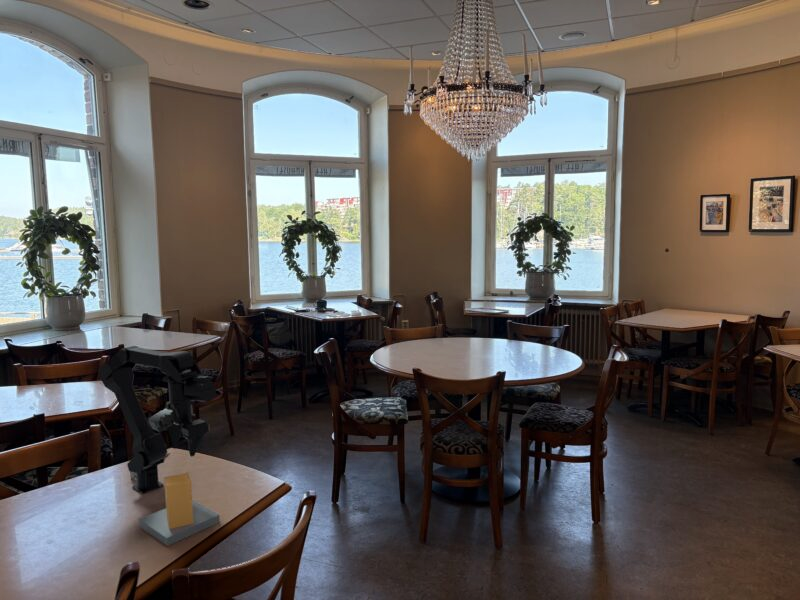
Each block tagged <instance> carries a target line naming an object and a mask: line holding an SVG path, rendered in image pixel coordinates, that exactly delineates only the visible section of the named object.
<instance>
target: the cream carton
mask: <svg viewBox="0 0 800 600" xmlns="http://www.w3.org/2000/svg"><path fill="white" fill-rule="evenodd" d="M163 478H164V479H163V481H164V482H163V484H164V494H165V495H164V497H165V508H166V516H167V522H168V527H169V529H172V528H176V527H180V526H184V525H189V524H193V506H192V500H193V493H192V492H193V490H192V489H193V488H192V480H191V477H190V474H189V472H183V473H180V474H179V473H178V474H174V475H169V476H164V477H163Z"/></svg>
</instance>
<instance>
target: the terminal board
mask: <svg viewBox="0 0 800 600" xmlns="http://www.w3.org/2000/svg"><path fill="white" fill-rule="evenodd" d="M192 506H193V524H189V525H184V526H180V527H176V528H172V529H169V527H168V522H167V516H166V507H165V508H163V509H161V510H158V511H156V512H154V513H151V514H148V515H145V516H143V517H140V518H139V519H138V525H139V528H141V529H142V530H143V531H145V532H147V534H149V535H151V536H152V537H153V538H155V539H157V540H158V541H159V542H161V543H163V544H164V545H166V547H168V546H171V545H173V544H175V543H177V542H179V541H181V540H184V539H186V538H188V537H190V536H192V535H195V534H197V533H198V532H201V531H203V530H205V529H208V528H210V527H212V526H215V525H216V524H218V523H220V522H221V519H220V514H219V513H218V512H216V511H214V510H212V509H210V508H209V507H206V506H205V505H203V504H201V503H199V502H197V500H194V499H192Z"/></svg>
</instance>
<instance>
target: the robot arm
mask: <svg viewBox="0 0 800 600" xmlns="http://www.w3.org/2000/svg"><path fill="white" fill-rule="evenodd" d="M137 365H144V366H146V367H152V368H156V369H158V370H159V371H160V372H161V373H162V374H165V375H166V376H164V377H163V378H162V382H166V383H168V397H169V401H166V403H165V408H164V409H163V410H159V411H158V412H157V413H155V414H153V415H151V416H150V417H149V418H147V416H146V415H145V412H144V410H143V408H142V405H141V403H140V401H139V398H138V396H137V393H136V391H135V389H134V387H133V383H134V377H135V374H134V372H133V370H134V369H135V368H136V367H137ZM98 377H99V379H100V380H101V382H102V385H104V387H105V388H106V389H107V390H110V391H111V392H112V393H113V394H114V395H115V397H116V400H117V403H118V405H119V407H120V409H121V411H122V413H123V417H124V419H125V422H126V423H127V426H128V428H129V431H130V433H131V435H132V437H133V441H132V442H133V443H132V447H131V451H132V454H133V457H131V459H130V460H129V461H128V463H127V465H126V466H127V469H128V471H129V472H130V471H131V472H135V473H136V476H137V477H136V484H132V487H131V488H132V489H134V490H135V491H136V492H138V493H140V494H146V493H149V492H151V491H154V490H157V489H159V488H162V487H165V483H164V482H161V481H159V470H158V469H159V465H161V464H164V462H165V459H166V457H167V456H166V452H167V451H168V448H167V446H168V444H167V443H166V441H165V439H164V436H163V434H162V433H161V432H164V431H165V432H166V434H167V437H168V439H169V441H170V444H171V447H172V449H177V448H178V446H179V442H180V437H181V436H182V437H183V438H185V440H186V441H187V447H188V452H189V453H188V454H189V457H195V455H196V452H197V451H198V448H199V446H200V444H201V442H202V439H203V438H204V436H205V435H206V434H208V432H210V431H211V430H210V429H211V427H210V423H208V422H207V421H205V420H203V419H200V418H198V419H197V415H196V414H195V413H193V405H196V402H204V403H210V402H212V400H213V399H214V398H215V396H216V393H217V386H216V384H215V382H213V381H212V380H211V377H210V375H209V376H208V375H203V372H202V371H201V367H199V365H198V364H197V362H196V359H194V357H193V356H192V353H191V352H190V351H186V350H185V351H184V350H183V351H181V350H180V351H172V352H171V351H169V352H166V351H165V352H164V351H159V350H155V349H150V348H149V349H148V348H143V347H139V346H136V345H131V346H127V347H123V348H121V349H120V350H118V352H117V353H116V354H114V355H113V356H111V357H110V358H109V359H108V360H106V361H105V362H104V363H102V364H101V365H100V367H99V370H98ZM194 419H195V420H194ZM151 428H152V429H151ZM153 430H154V431H153ZM155 431H157V432H158V433H156V432H155ZM181 433H182V435H181ZM165 456H166V457H165Z"/></svg>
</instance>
